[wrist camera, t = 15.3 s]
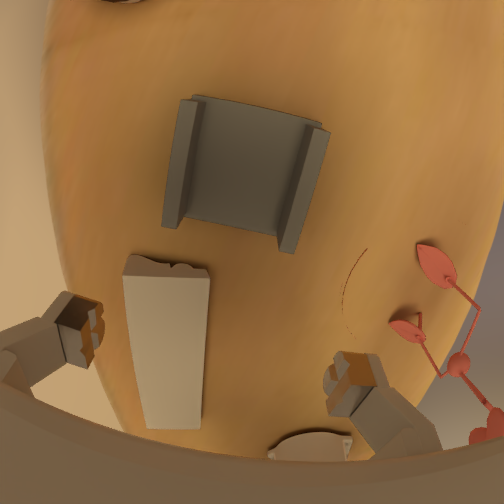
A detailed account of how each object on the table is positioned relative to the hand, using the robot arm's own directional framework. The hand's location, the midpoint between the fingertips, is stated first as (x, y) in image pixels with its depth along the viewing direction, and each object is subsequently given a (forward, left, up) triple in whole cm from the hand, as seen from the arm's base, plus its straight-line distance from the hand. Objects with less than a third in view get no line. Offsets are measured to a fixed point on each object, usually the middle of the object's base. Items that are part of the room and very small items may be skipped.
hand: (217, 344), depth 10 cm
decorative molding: (-25, +15, -25) cm, 38 cm away
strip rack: (0, 0, -25) cm, 25 cm away
